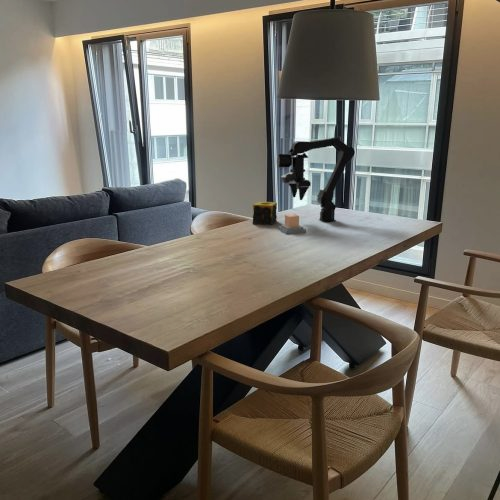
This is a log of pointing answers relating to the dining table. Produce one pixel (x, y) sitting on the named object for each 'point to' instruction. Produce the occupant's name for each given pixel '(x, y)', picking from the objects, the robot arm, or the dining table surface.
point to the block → (292, 220)
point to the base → (291, 229)
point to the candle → (264, 213)
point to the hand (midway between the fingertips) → (297, 198)
